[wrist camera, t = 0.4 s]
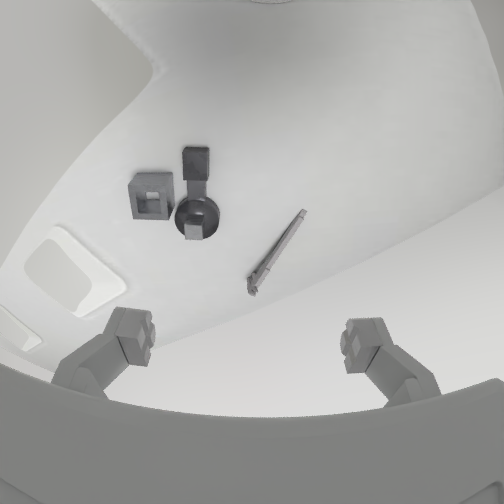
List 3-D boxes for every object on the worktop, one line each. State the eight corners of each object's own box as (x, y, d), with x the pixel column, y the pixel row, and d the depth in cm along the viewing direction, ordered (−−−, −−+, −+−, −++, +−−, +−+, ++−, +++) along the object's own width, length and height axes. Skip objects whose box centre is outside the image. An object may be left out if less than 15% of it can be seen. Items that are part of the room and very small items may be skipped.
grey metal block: (137, 173, 47) (127, 185, 43) (172, 172, 47) (165, 185, 43) (141, 204, 51) (133, 219, 47) (174, 205, 51) (168, 220, 47)
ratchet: (219, 232, 55) (216, 252, 51) (178, 230, 55) (172, 249, 50) (221, 148, 45) (217, 161, 40) (173, 147, 44) (164, 160, 40)
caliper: (251, 279, 64) (251, 300, 59) (247, 277, 63) (247, 299, 59) (306, 210, 53) (312, 229, 48) (301, 207, 52) (307, 227, 47)
